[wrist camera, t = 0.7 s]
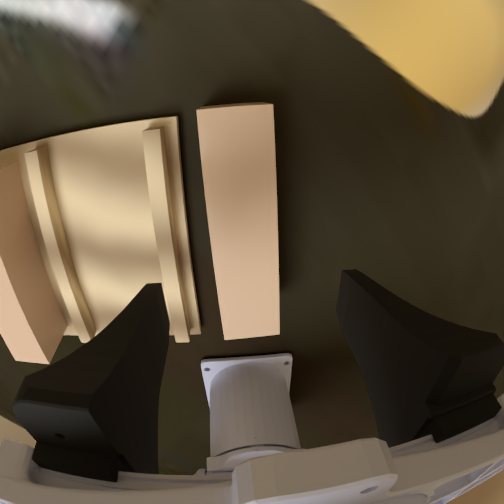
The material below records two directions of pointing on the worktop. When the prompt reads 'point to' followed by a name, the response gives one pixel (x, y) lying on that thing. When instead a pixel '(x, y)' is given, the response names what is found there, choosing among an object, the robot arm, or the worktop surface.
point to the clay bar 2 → (242, 214)
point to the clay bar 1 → (24, 279)
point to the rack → (111, 221)
